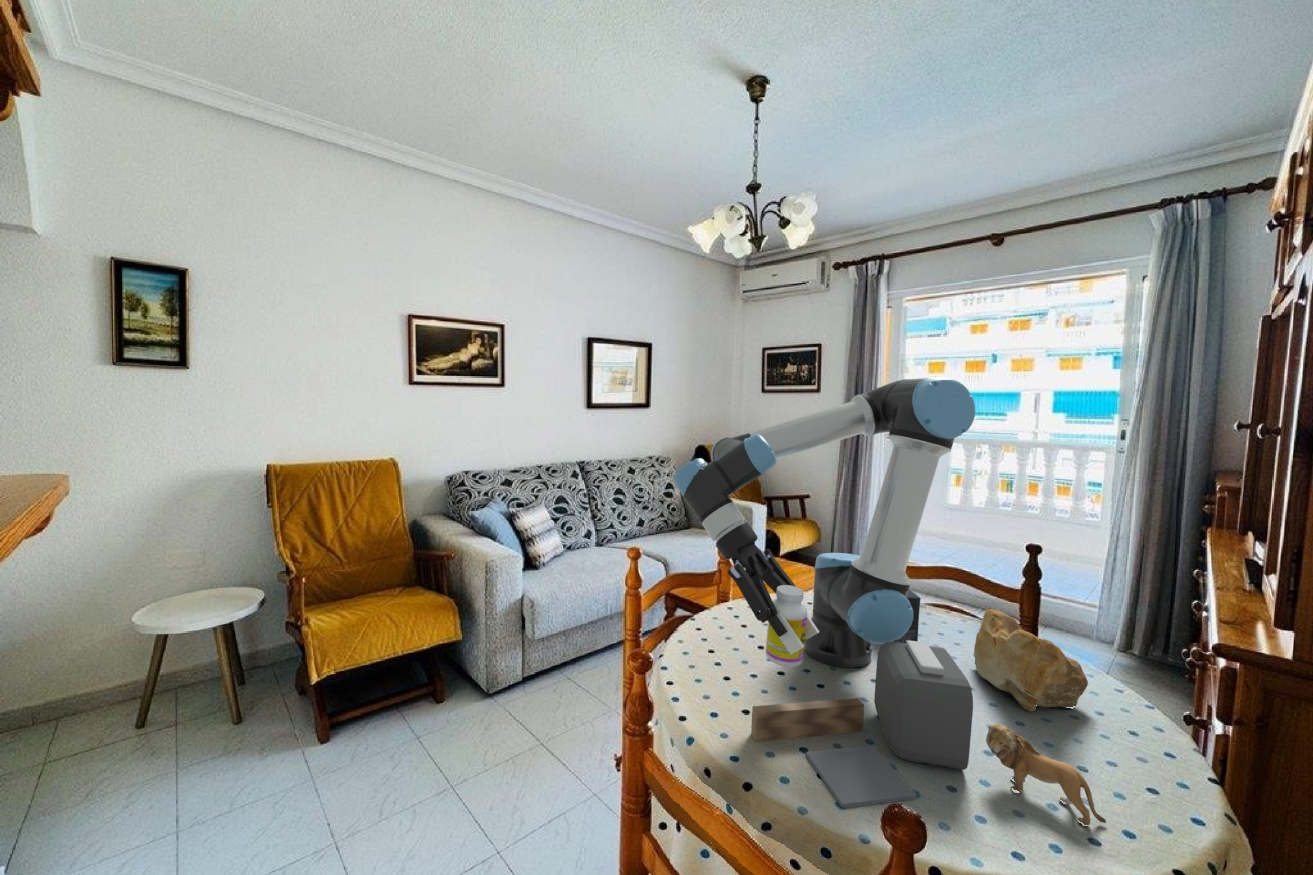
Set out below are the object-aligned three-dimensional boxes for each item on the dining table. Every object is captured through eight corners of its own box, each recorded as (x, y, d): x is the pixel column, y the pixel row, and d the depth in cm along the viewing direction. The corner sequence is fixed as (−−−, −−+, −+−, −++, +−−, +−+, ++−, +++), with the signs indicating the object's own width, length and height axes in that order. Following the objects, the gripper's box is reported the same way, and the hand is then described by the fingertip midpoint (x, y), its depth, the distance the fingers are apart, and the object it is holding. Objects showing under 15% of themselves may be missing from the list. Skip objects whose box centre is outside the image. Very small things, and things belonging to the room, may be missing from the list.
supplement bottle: (803, 671, 89) (810, 600, 88) (764, 664, 91) (770, 594, 89) (802, 652, 96) (808, 585, 94) (765, 646, 97) (771, 580, 96)
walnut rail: (856, 724, 94) (857, 697, 93) (862, 731, 92) (864, 704, 91) (751, 733, 90) (752, 706, 89) (755, 741, 88) (756, 713, 88)
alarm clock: (967, 778, 81) (975, 682, 80) (889, 765, 83) (896, 671, 82) (934, 716, 97) (940, 636, 96) (870, 707, 99) (875, 628, 98)
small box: (867, 621, 139) (870, 577, 138) (892, 621, 139) (895, 578, 138) (890, 644, 126) (894, 596, 125) (918, 645, 126) (922, 597, 125)
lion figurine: (980, 784, 80) (985, 728, 79) (985, 766, 84) (989, 713, 83) (1106, 837, 71) (1113, 774, 70) (1104, 813, 75) (1110, 754, 74)
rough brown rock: (1117, 743, 92) (1132, 662, 92) (1015, 721, 95) (1028, 643, 94) (1044, 679, 115) (1055, 613, 114) (963, 663, 118) (974, 599, 117)
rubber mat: (872, 748, 87) (872, 745, 87) (916, 798, 76) (916, 794, 76) (806, 755, 85) (806, 751, 85) (842, 807, 74) (842, 803, 74)
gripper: (741, 533, 108) (809, 633, 100) (689, 553, 93) (766, 674, 85) (766, 513, 105) (840, 615, 97) (717, 531, 89) (800, 654, 81)
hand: (805, 642), depth 91 cm, fingers closed on supplement bottle, 7 cm apart
